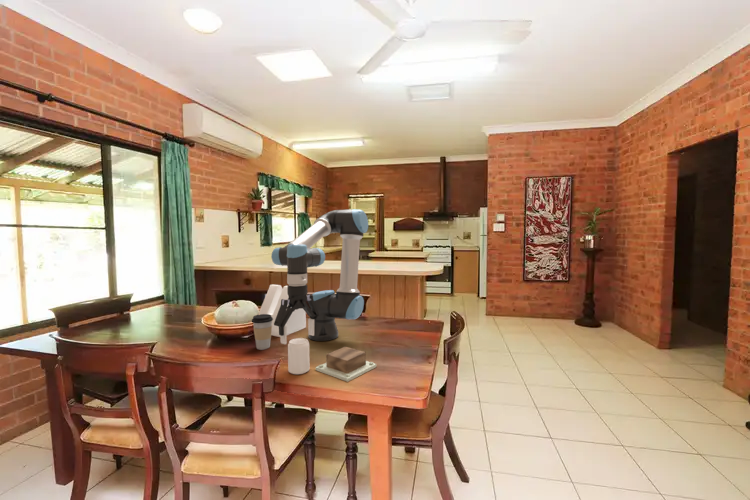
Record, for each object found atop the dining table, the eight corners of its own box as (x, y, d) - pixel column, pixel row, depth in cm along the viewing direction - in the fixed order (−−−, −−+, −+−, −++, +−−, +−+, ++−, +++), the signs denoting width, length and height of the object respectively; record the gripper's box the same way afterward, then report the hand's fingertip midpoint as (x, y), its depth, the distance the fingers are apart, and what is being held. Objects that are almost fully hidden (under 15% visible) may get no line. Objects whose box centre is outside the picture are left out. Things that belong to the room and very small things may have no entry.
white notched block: (284, 325, 200) (283, 282, 198) (306, 328, 193) (305, 284, 191) (259, 334, 183) (258, 287, 181) (281, 338, 176) (280, 289, 174)
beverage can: (290, 367, 139) (289, 337, 139) (310, 366, 140) (310, 337, 139) (286, 375, 131) (286, 344, 131) (308, 375, 132) (308, 344, 131)
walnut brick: (326, 366, 137) (326, 354, 137) (345, 358, 146) (345, 346, 145) (347, 373, 130) (347, 360, 130) (365, 364, 139) (365, 352, 139)
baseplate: (315, 370, 136) (315, 365, 136) (345, 357, 150) (345, 353, 150) (347, 381, 126) (347, 376, 126) (376, 366, 139) (376, 362, 139)
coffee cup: (277, 345, 165) (276, 314, 164) (265, 352, 156) (264, 319, 155) (260, 343, 168) (260, 313, 167) (247, 350, 159) (246, 317, 158)
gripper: (276, 289, 121) (277, 349, 122) (327, 281, 141) (328, 333, 142) (263, 287, 126) (264, 345, 127) (315, 280, 146) (315, 330, 147)
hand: (298, 339), depth 135 cm, fingers open, 13 cm apart
